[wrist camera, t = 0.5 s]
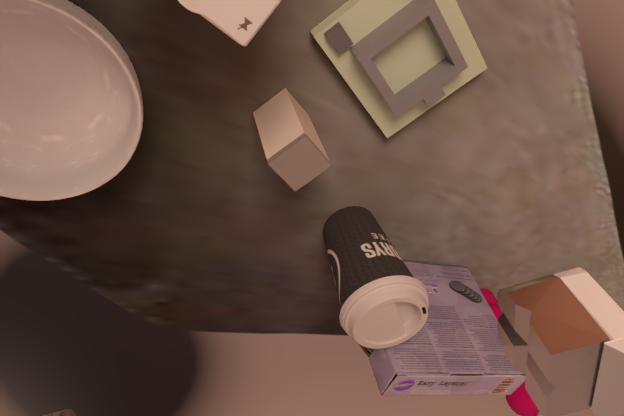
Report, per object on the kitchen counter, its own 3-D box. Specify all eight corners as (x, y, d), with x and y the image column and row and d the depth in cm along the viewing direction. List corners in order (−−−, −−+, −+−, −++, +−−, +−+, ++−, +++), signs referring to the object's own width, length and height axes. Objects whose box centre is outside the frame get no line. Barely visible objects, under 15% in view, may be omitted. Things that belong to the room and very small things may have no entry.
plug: (252, 112, 51) (268, 164, 44) (285, 87, 50) (306, 136, 43) (277, 138, 53) (295, 191, 46) (308, 115, 52) (331, 165, 45)
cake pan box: (332, 281, 69) (375, 401, 56) (346, 254, 66) (394, 373, 53) (451, 289, 76) (514, 396, 63) (468, 264, 73) (537, 371, 60)
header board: (309, 30, 47) (319, 45, 44) (422, -59, 44) (440, -48, 41) (382, 131, 55) (393, 148, 53) (480, 61, 53) (497, 76, 50)
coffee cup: (379, 251, 67) (425, 346, 56) (307, 259, 65) (340, 359, 54) (391, 192, 61) (445, 285, 50) (313, 199, 59) (351, 298, 48)
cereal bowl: (180, 108, 49) (183, 149, 43) (25, 183, 50) (10, 231, 44) (58, -78, 37) (42, -54, 32) (-139, 23, 38) (-185, 62, 33)
